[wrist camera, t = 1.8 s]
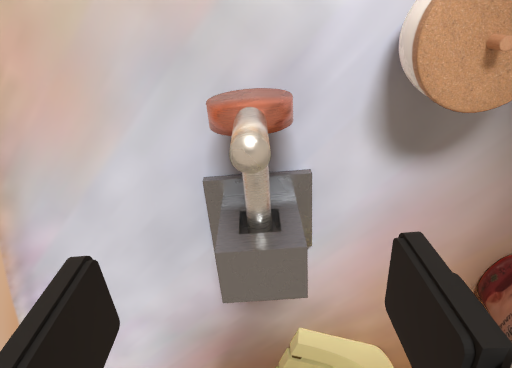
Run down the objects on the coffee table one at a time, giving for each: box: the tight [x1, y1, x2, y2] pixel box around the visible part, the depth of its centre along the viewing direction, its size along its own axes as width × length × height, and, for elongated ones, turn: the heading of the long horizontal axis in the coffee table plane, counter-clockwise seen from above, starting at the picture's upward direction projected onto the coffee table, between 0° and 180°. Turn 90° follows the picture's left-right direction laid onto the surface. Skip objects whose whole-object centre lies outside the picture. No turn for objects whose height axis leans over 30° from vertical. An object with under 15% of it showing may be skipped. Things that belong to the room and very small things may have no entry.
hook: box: [206, 88, 293, 234], centre depth 29 cm, size 20×7×13 cm, turn 4°
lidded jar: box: [399, 0, 512, 113], centre depth 27 cm, size 11×11×9 cm
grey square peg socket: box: [203, 169, 312, 303], centre depth 35 cm, size 10×12×11 cm
